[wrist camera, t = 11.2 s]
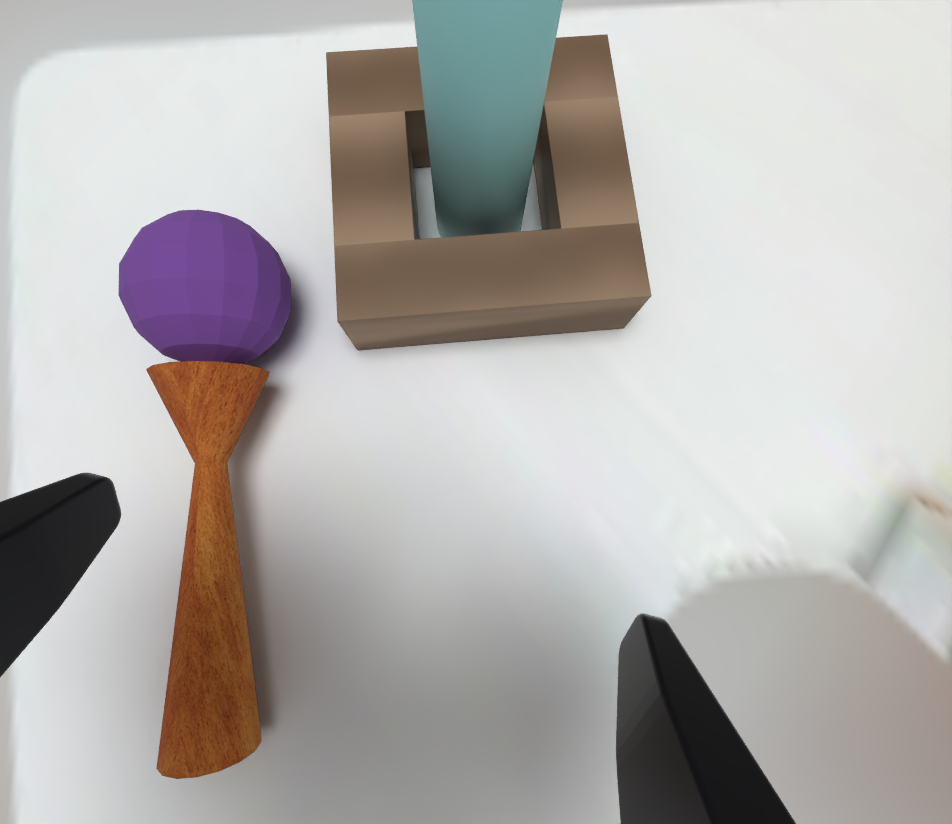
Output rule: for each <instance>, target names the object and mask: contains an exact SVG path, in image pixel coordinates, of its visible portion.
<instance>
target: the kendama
mask: <svg viewBox="0 0 952 824" xmlns="http://www.w3.org/2000/svg"><path fill="white" fill-rule="evenodd" d="M119 297H120V299H121V301H122V303H123V305H124V308H125V310H126V312H127V314H128V316H129V318H130V320H131V322H132V324H133V326H134V328H135V329H136V330H137V332H138V333H139V334H140V335H141V336H142V337H143V338H144V339H146V340H147V341H148V342H149V343H150V344H151V345H152V346H154V347H155V348H156V349H157V350H158V351H159V352H160V353H161V354H163V355H165V356H167V357H170V358H172V359H175V360H178V361H181V362H168V363H162V364H157V365H152V366H151V367H149V368H148V369H146V370H147V372H148V374H149V376H150V378H151V380H152V382H153V383H154V385H155V387H156V389H157V391H158V393H159V395H160V397H161V399H162V401H163V403H164V405H165V407H166V409H167V410H168V412H169V414H170V416H171V418H172V420H173V422H174V424H175V426H176V428H177V430H178V432H179V434H180V435H181V437H182V439H183V441H184V443H185V445H186V447H187V449H188V451H189V453H190V455H191V457H192V459H193V461H194V462H195V468H194V476H193V484H192V492H191V500H190V508H189V516H188V524H187V532H186V540H185V548H184V556H183V563H182V571H181V579H180V587H179V595H178V603H177V611H176V619H175V627H174V635H173V643H172V651H171V659H170V667H169V674H168V682H167V690H166V698H165V706H164V714H163V722H162V730H161V738H160V746H159V754H158V762H157V770H158V771H159V772H160V773H161V774H162V776H166V777H171V778H176V779H180V778H193V777H199V776H203V775H207V774H211V773H214V772H218V771H221V770H223V769H225V768H228V767H230V766H232V765H234V764H236V763H239V762H240V761H242V760H243V759H245V758H246V757H247V756H249V755H250V754H252V753H253V752H254V751H255V750H256V749H257V747H258V746H259V745H260V743H261V729H260V721H259V713H258V705H257V697H256V689H255V681H254V674H253V666H252V658H251V650H250V642H249V634H248V626H247V618H246V610H245V602H244V594H243V586H242V578H241V570H240V562H239V554H238V546H237V538H236V530H235V522H234V514H233V506H232V498H231V490H230V482H229V474H228V466H227V461H228V459H229V457H230V455H231V453H232V451H233V449H234V447H235V445H236V443H237V441H238V439H239V437H240V435H241V432H242V430H243V428H244V426H245V424H246V422H247V420H248V418H249V416H250V414H251V412H252V410H253V408H254V405H255V403H256V401H257V399H258V397H259V395H260V393H261V391H262V389H263V387H264V385H265V383H266V381H267V378H268V376H269V372H268V371H266V370H264V369H262V368H259V367H255V366H250V365H245V364H242V363H245V362H249V361H252V360H254V359H256V358H258V357H259V356H260V355H261V354H263V353H264V352H265V351H266V350H267V349H268V348H270V347H271V346H272V345H273V344H274V343H275V342H277V341H278V340H279V337H280V335H281V333H282V331H283V328H284V326H285V324H286V322H287V319H288V317H289V314H290V310H291V282H290V278H289V275H288V273H287V271H286V269H285V267H284V265H283V263H282V261H281V258H280V256H279V254H278V253H277V252H276V250H275V249H274V248H273V247H272V246H271V245H270V243H269V242H268V241H266V240H265V239H264V238H263V237H262V236H261V235H260V234H258V233H257V232H256V231H255V230H254V229H253V228H252V227H251V226H249V225H248V224H246V223H244V222H242V221H240V220H239V219H237V218H234V217H231V216H227V215H224V214H221V213H217V212H210V211H203V210H183V211H177V212H174V213H171V214H168V215H166V216H164V217H162V218H160V219H158V220H156V221H154V222H152V223H150V224H148V225H147V226H145V227H143V228H142V229H141V230H140V231H139V233H138V234H137V235H136V237H135V238H134V240H133V242H132V243H131V245H130V247H129V248H128V250H127V252H126V253H125V255H124V257H123V258H122V260H121V262H120V263H119Z"/></svg>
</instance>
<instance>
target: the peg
mask: <svg viewBox="0 0 952 824" xmlns="http://www.w3.org/2000/svg"><path fill="white" fill-rule="evenodd" d="M412 1H413V11H414V20H415V29H416V38H417V47H418V56H419V65H420V74H421V83H422V92H423V102H424V111H425V120H426V129H427V138H428V147H429V156H430V165H431V174H432V183H433V192H434V202H435V211H436V220H437V227H438V230H439V233H440V235H441V237H442V238H444V237H458V236H471V235H484V234H497V233H510V232H520V229H521V224H522V219H523V213H524V208H525V202H526V197H527V191H528V186H529V181H530V175H531V170H532V164H533V159H534V153H535V148H536V143H537V137H538V132H539V126H540V121H541V116H542V110H543V105H544V99H545V94H546V88H547V83H548V78H549V72H550V67H551V61H552V56H553V50H554V45H555V40H556V34H557V29H558V23H559V18H560V12H561V7H562V1H563V0H412Z"/></svg>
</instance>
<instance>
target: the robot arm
mask: <svg viewBox="0 0 952 824" xmlns="http://www.w3.org/2000/svg"><path fill="white" fill-rule="evenodd" d="M120 518H121V510H120V506H119V502H118V498H117V495H116V491H115V487H114V484H113V482H112V481H111V480H110V479H109V478H107V477H104V476H100V475H96V474H92V473H80V474H77V475H74V476H71V477H69V478H66V479H63V480H60V481H57V482H55V483H52V484H49V485H46V486H43V487H41V488H38V489H35V490H32V491H29V492H27V493H24V494H21V495H18V496H16V497H13V498H10V499H7V500H4V501H2V502H0V677H1V676H2V675H3V674H4V672H5V671H6V670H7V669H8V668H9V667H10V665H11V664H12V663H13V662H14V661H15V660H16V658H17V657H18V656H19V655H20V654H21V653H22V651H23V650H24V649H25V648H26V647H27V646H28V644H29V643H30V642H31V641H32V640H33V639H34V637H35V636H36V635H37V634H38V633H39V632H40V630H41V629H42V628H43V627H44V626H45V624H46V623H47V622H48V621H49V620H50V619H51V617H52V616H53V615H54V614H55V612H56V611H57V610H58V609H59V607H60V606H61V605H62V603H63V602H64V601H65V599H66V598H67V597H68V596H69V594H70V593H71V591H72V590H73V589H74V587H75V586H76V584H77V583H78V581H79V580H80V579H81V577H82V576H83V574H84V573H85V572H86V570H87V569H88V567H89V566H90V564H91V563H92V562H93V560H94V559H95V557H96V556H97V555H98V553H99V552H100V550H101V549H102V547H103V546H104V545H105V543H106V542H107V540H108V539H109V538H110V536H111V535H112V533H113V532H114V530H115V529H116V527H117V526H118V524H119V521H120ZM616 761H617V778H618V792H619V805H620V819H621V824H796V823H795V821H794V820H793V818H792V817H791V815H790V813H789V812H788V810H787V809H786V807H785V806H784V804H783V802H782V801H781V799H780V798H779V796H778V795H777V793H776V792H775V790H774V788H773V787H772V785H771V784H770V782H769V781H768V779H767V777H766V776H765V774H764V773H763V771H762V770H761V768H760V766H759V765H758V763H757V762H756V760H755V759H754V757H753V755H752V754H751V753H750V751H749V749H748V748H747V746H746V745H745V743H744V742H743V740H742V738H741V737H740V735H739V734H738V732H737V730H736V729H735V727H734V726H733V724H732V723H731V721H730V719H729V718H728V716H727V715H726V713H725V712H724V710H723V709H722V707H721V705H720V704H719V702H718V701H717V699H716V698H715V696H714V695H713V693H712V691H711V690H710V688H709V687H708V685H707V683H706V682H705V681H704V679H703V677H702V676H701V674H700V673H699V671H698V669H697V668H696V666H695V665H694V663H693V662H692V660H691V658H690V657H689V655H688V654H687V652H686V651H685V649H684V648H683V646H682V644H681V643H680V641H679V640H678V638H677V637H676V635H675V633H674V632H673V630H672V629H671V627H670V626H669V624H668V623H667V622H666V621H665V620H664V619H662V618H659V617H655V616H651V615H647V614H639V615H638V616H637V617H636V618H635V620H634V621H633V623H632V625H631V627H630V628H629V630H628V632H627V633H626V635H625V637H624V638H623V640H622V642H621V645H620V650H619V664H618V697H617V730H616Z"/></svg>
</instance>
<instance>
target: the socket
mask: <svg viewBox="0 0 952 824" xmlns="http://www.w3.org/2000/svg"><path fill="white" fill-rule="evenodd" d="M326 59H327V83H328V107H329V130H330V154H331V178H332V202H333V225H334V249H335V273H336V296H337V320H338V323H339V324H340V326H341V327H342V328H343V330H344V331H345V333H346V334H347V336H348V337H349V339H350V340H351V341H352V343H353V344H354V346H355V347H356V349H357V350H366V349H378V348H390V347H402V346H414V345H426V344H438V343H450V342H462V341H474V340H486V339H498V338H510V337H522V336H535V335H547V334H559V333H571V332H583V331H595V330H607V329H619V328H624V327H625V326H626V325H627V324H628V323H629V321H630V320H631V319H632V318H633V317H634V315H635V314H636V313H637V312H638V311H639V310H640V308H641V307H642V306H643V305H644V304H645V303H646V301H647V300H648V299H649V298H650V297H651V291H650V285H649V279H648V274H647V268H646V262H645V256H644V250H643V244H642V238H641V232H640V226H639V220H638V214H637V208H636V202H635V196H634V190H633V184H632V178H631V172H630V167H629V161H628V155H627V149H626V143H625V137H624V131H623V125H622V119H621V113H620V107H619V101H618V95H617V89H616V83H615V77H614V71H613V65H612V59H611V54H610V48H609V42H608V36H607V35H593V36H578V37H562V38H556V40H555V45H554V50H553V56H552V61H551V67H550V72H549V78H548V83H547V88H546V94H545V99H544V105H543V110H542V116H541V121H540V126H539V132H538V137H537V143H536V148H535V153H534V167H535V175H536V183H537V191H538V198H539V206H540V214H541V222H542V230H536V231H523V232H510V233H497V234H484V235H471V236H458V237H444V238H431V239H419V232H418V219H417V206H416V193H415V180H414V168H417V167H431V165H430V156H429V147H428V138H427V129H426V120H425V111H424V102H423V92H422V83H421V74H420V65H419V56H418V47H405V48H390V49H374V50H358V51H343V52H327V53H326Z"/></svg>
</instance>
